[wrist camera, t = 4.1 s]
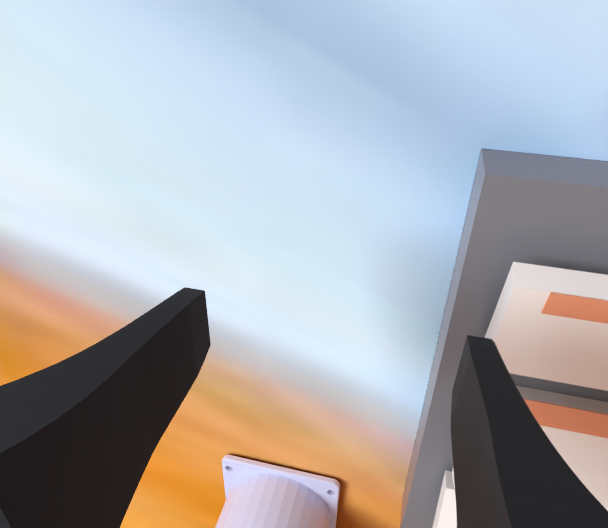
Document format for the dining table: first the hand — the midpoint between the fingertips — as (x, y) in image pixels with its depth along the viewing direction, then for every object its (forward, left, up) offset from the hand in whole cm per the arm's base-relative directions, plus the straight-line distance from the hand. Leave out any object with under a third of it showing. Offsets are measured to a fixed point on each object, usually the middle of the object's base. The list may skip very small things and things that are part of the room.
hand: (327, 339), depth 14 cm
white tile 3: (-3, -10, -6) cm, 12 cm away
